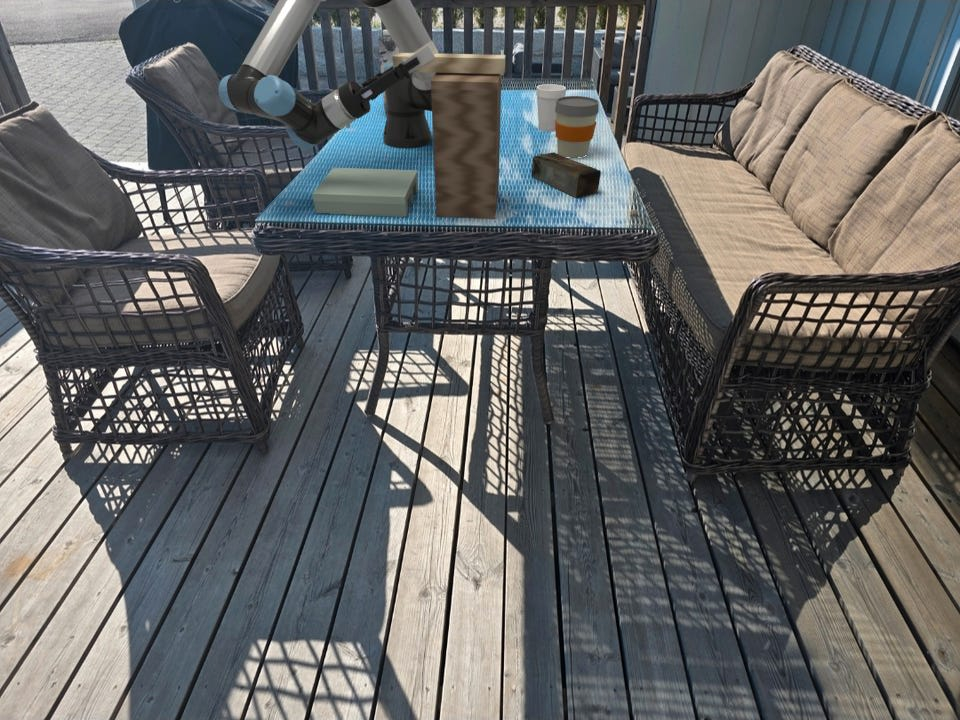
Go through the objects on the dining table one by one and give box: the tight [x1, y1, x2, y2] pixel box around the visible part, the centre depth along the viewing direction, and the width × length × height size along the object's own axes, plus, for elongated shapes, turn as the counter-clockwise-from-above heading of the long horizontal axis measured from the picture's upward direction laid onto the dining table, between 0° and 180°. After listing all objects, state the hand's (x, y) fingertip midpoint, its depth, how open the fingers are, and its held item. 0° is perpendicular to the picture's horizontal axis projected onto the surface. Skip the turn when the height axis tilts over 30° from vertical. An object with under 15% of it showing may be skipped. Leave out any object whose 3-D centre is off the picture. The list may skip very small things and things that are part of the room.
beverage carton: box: [531, 151, 602, 199], centre depth 158 cm, size 8×19×7 cm, turn 34°
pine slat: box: [392, 53, 506, 75], centre depth 129 cm, size 24×4×3 cm, turn 85°
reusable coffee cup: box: [554, 95, 600, 159], centre depth 176 cm, size 13×12×15 cm
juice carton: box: [378, 29, 401, 117], centre depth 205 cm, size 9×10×27 cm
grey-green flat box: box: [311, 167, 419, 218], centre depth 148 cm, size 22×18×5 cm
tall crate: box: [431, 73, 503, 220], centre depth 139 cm, size 14×16×30 cm
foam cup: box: [535, 83, 567, 133], centre depth 197 cm, size 10×9×13 cm
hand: (433, 49), depth 128 cm, fingers closed on pine slat, 4 cm apart
